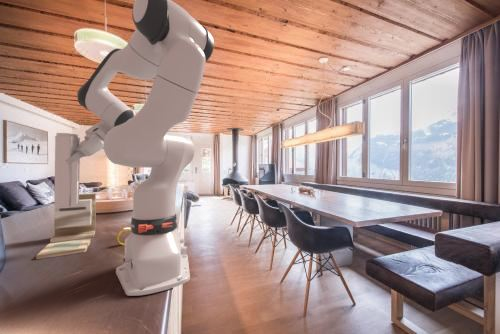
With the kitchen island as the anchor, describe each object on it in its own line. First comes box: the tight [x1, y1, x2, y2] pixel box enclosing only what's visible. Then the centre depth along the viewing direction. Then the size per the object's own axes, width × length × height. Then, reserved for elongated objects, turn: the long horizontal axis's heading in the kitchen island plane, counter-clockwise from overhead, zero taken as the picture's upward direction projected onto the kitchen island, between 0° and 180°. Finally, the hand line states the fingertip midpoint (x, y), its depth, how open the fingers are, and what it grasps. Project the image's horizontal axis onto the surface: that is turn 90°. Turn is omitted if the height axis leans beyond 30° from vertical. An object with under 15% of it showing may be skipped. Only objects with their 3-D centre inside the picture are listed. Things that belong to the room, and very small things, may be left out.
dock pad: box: [35, 238, 92, 260], centre depth 73 cm, size 12×12×1 cm
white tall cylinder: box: [53, 132, 81, 209], centre depth 74 cm, size 6×6×25 cm
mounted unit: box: [49, 193, 97, 244], centre depth 86 cm, size 7×13×17 cm, turn 120°
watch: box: [116, 226, 131, 246], centre depth 79 cm, size 6×3×6 cm, turn 129°
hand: (65, 163), depth 73 cm, fingers closed on white tall cylinder, 6 cm apart
